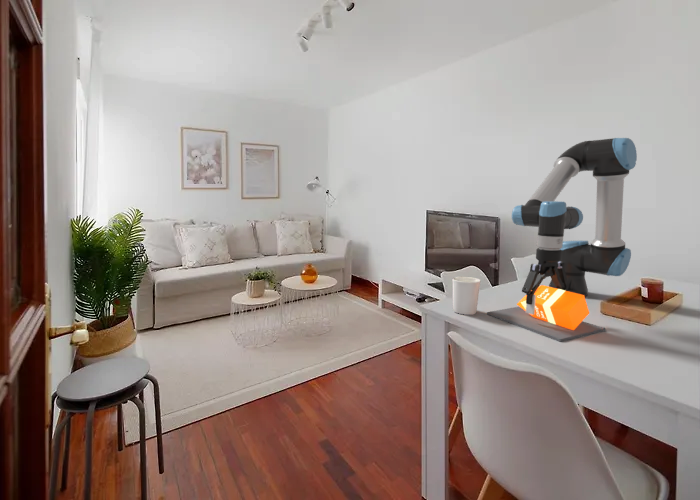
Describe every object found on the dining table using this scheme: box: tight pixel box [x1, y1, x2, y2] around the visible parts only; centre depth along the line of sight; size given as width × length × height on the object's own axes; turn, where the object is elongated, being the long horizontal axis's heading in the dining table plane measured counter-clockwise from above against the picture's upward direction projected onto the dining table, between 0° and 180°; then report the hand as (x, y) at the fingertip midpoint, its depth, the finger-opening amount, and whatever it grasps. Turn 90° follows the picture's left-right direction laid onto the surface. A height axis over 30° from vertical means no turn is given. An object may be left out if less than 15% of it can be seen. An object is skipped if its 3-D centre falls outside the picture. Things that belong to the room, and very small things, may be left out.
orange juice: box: [516, 284, 590, 330], centre depth 127 cm, size 8×9×20 cm
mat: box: [486, 306, 606, 343], centre depth 128 cm, size 22×28×1 cm
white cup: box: [451, 276, 482, 316], centre depth 138 cm, size 10×10×12 cm
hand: (543, 310), depth 128 cm, fingers open, 13 cm apart
